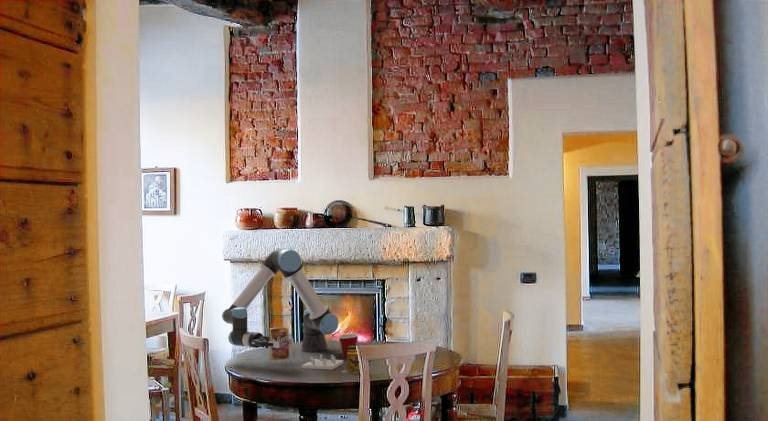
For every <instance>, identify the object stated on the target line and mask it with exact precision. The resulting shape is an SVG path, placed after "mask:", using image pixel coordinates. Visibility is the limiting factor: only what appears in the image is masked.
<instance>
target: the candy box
mask: <svg viewBox="0 0 768 421" xmlns="http://www.w3.org/2000/svg"><path fill="white" fill-rule="evenodd" d="M289 334H290V333H289V327H288V326H282V327H281V326H279V327H269V337H270V340H269V341H275V342H279V348H275V347H269V357H270V358H269V359H270V360H271V361H276V360H277V361H279V360H290V344H289V337H290V336H289Z"/></svg>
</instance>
